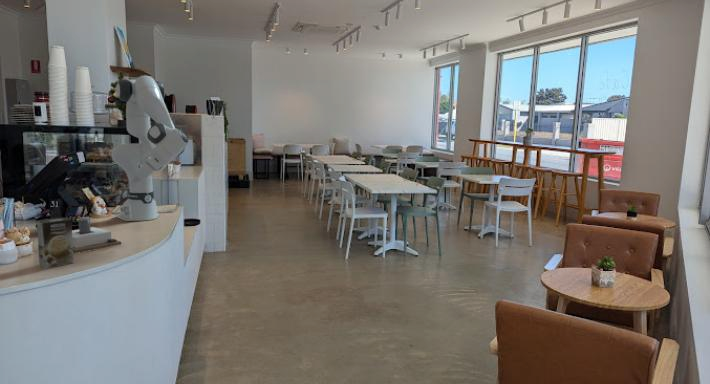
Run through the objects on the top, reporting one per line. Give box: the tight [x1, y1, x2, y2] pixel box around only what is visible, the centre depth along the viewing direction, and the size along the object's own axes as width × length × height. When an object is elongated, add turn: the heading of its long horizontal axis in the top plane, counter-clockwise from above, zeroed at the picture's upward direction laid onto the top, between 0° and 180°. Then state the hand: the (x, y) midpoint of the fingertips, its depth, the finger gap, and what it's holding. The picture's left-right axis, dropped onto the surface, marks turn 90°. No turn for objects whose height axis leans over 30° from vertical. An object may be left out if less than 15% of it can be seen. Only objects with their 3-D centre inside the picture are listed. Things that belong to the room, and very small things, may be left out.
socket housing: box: [72, 226, 112, 248], centre depth 198 cm, size 14×14×4 cm
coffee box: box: [36, 217, 74, 269], centre depth 170 cm, size 9×6×16 cm
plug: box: [78, 216, 91, 234], centre depth 198 cm, size 4×4×10 cm
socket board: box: [73, 238, 122, 254], centre depth 199 cm, size 22×18×2 cm
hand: (132, 183), depth 206 cm, fingers open, 8 cm apart
